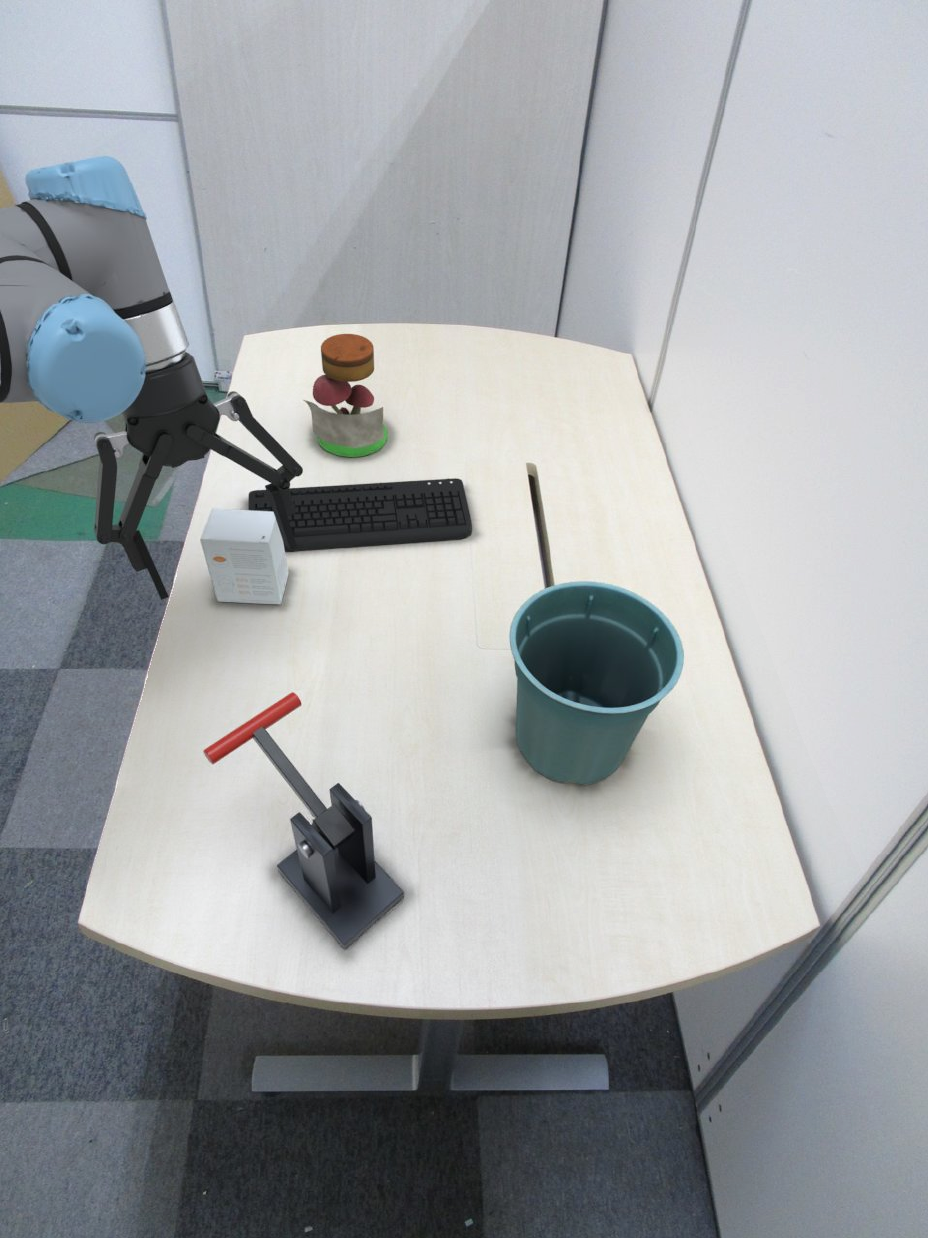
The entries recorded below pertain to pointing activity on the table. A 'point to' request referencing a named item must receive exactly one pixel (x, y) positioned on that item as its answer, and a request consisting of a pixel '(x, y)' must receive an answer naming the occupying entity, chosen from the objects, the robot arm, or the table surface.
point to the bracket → (340, 873)
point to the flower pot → (588, 676)
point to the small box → (245, 556)
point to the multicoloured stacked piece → (346, 398)
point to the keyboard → (374, 513)
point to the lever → (285, 768)
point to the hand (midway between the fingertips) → (228, 568)
